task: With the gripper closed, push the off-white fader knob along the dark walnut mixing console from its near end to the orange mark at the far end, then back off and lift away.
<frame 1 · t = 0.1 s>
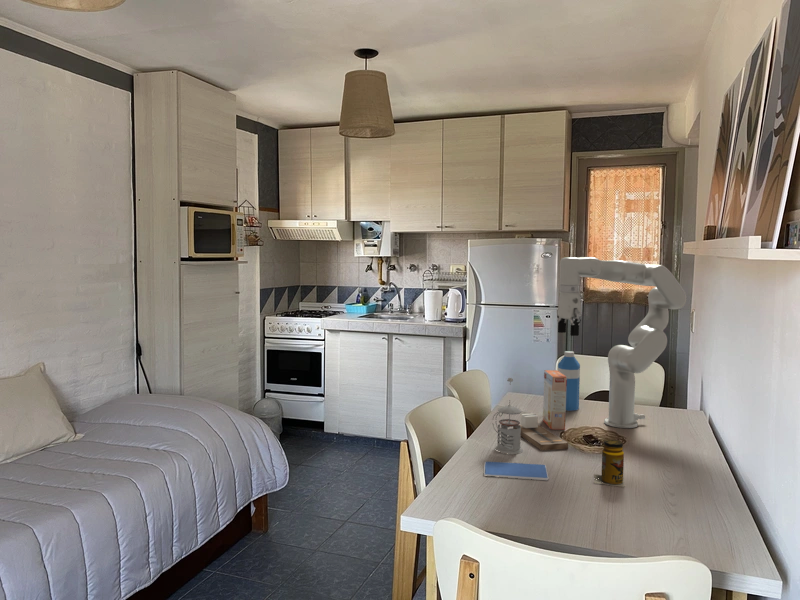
hand: (568, 334, 229), 37 cm above the table, tool pointing down, fingers open, 9 cm apart
tablet computer: (515, 473, 183), on the table
cracker box: (553, 425, 235), on the table
condiment: (608, 481, 176), on the table
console: (539, 439, 216), on the table
french press: (506, 449, 205), on the table
fader knob: (529, 420, 224), point 5 cm above the table, slide at 0.0 cm
water bottle: (567, 408, 262), on the table
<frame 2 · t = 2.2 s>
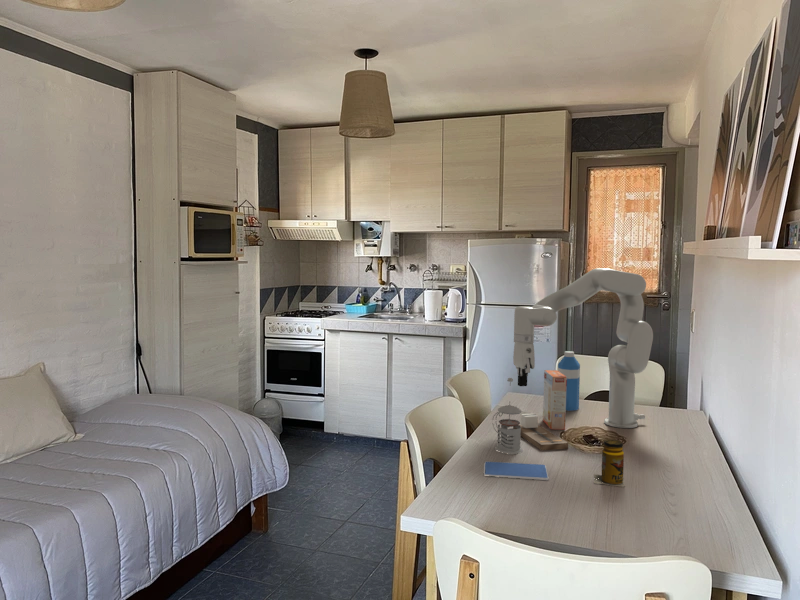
hand: (522, 385, 230), 17 cm above the table, tool pointing down, fingers closed
nothing on the table moved.
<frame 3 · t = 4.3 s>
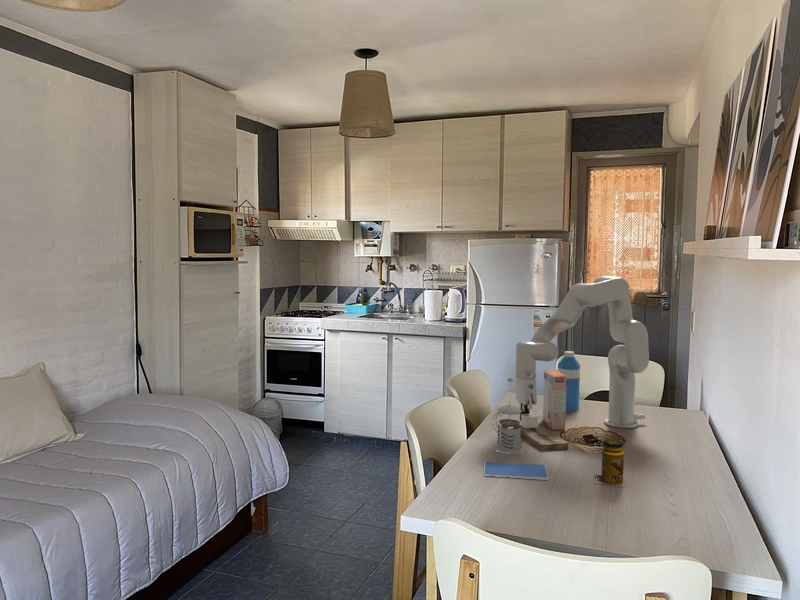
hand: (524, 421, 228), 3 cm above the table, tool pointing down, fingers closed
fader knob: (529, 420, 224), point 5 cm above the table, slide at 0.1 cm, touching gripper
everything else where it was.
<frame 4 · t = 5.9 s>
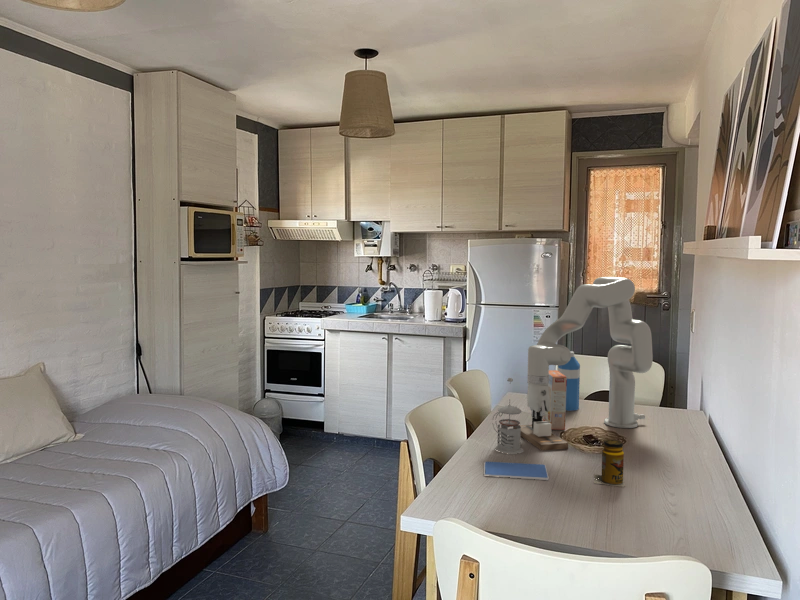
hand: (536, 428, 218), 3 cm above the table, tool pointing down, fingers closed
fader knob: (542, 428, 214), point 5 cm above the table, slide at 10.8 cm, touching gripper
everything else where it was.
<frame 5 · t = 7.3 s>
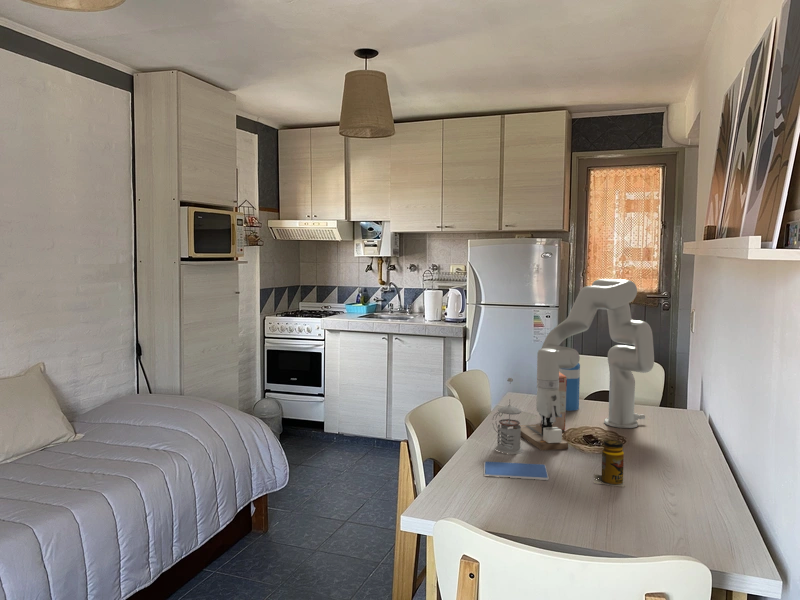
hand: (546, 434, 210), 3 cm above the table, tool pointing down, fingers closed
fader knob: (552, 434, 206), point 5 cm above the table, slide at 18.5 cm, touching gripper
everything else where it was.
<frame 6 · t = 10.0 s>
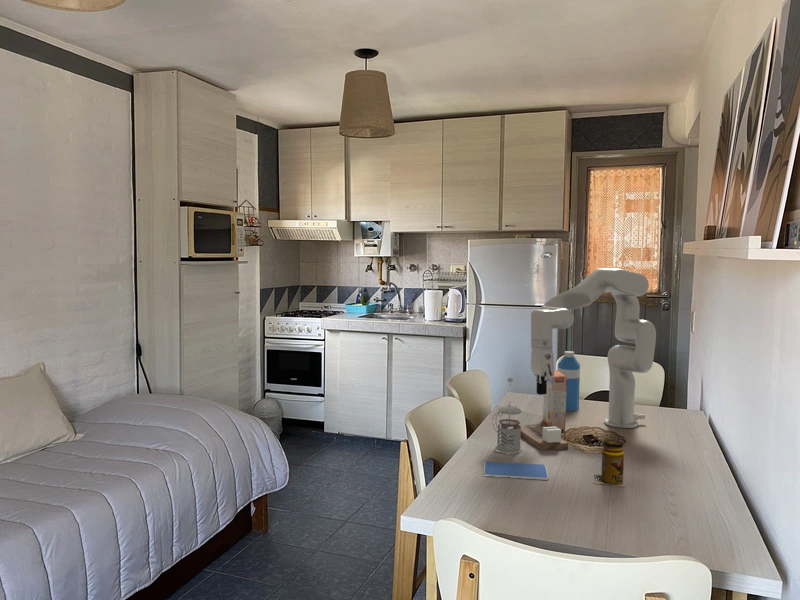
hand: (541, 393, 215), 17 cm above the table, tool pointing down, fingers closed
fader knob: (551, 434, 207), point 5 cm above the table, slide at 18.1 cm
everything else where it was.
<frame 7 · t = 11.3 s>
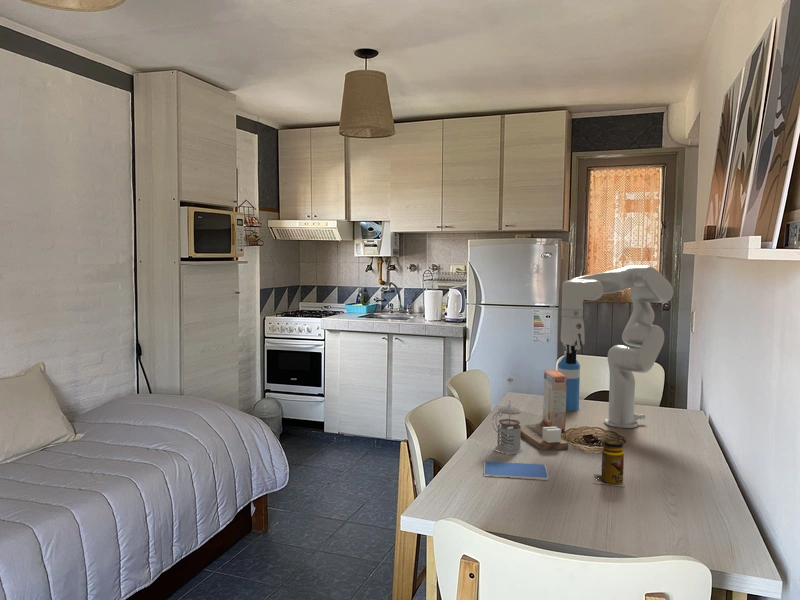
hand: (571, 363, 219), 27 cm above the table, tool pointing down, fingers closed
nothing on the table moved.
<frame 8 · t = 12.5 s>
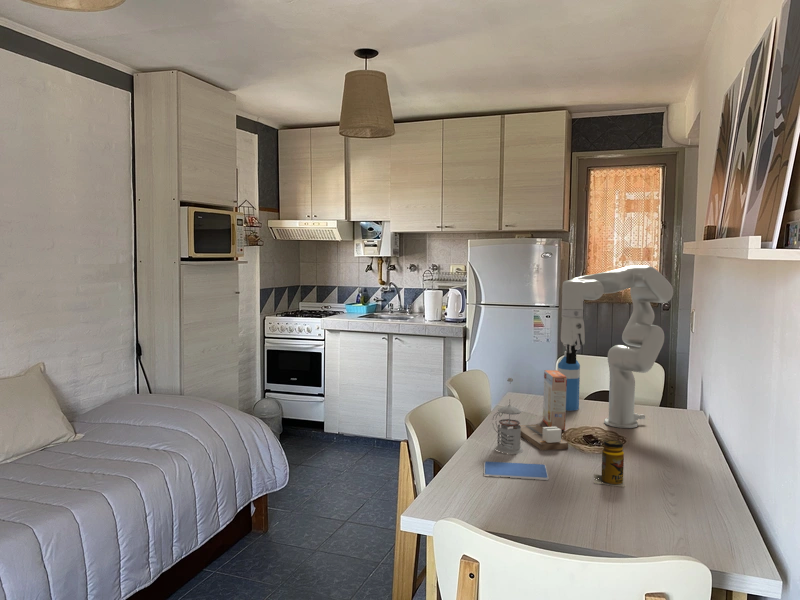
hand: (571, 363, 219), 27 cm above the table, tool pointing down, fingers closed
nothing on the table moved.
at the end: fader knob slide at 18.1 cm; the gripper is holding nothing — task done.
